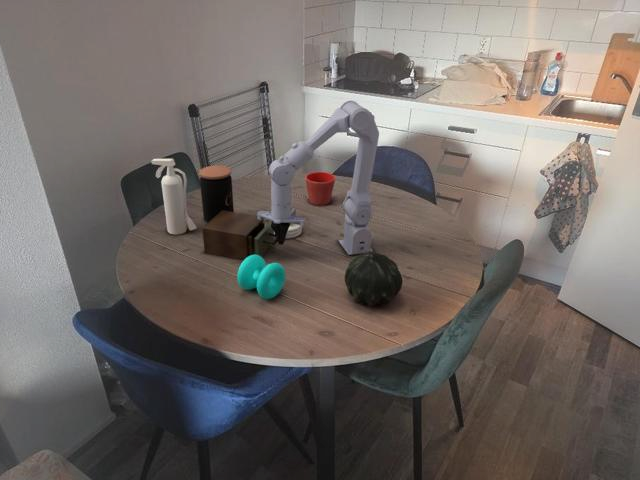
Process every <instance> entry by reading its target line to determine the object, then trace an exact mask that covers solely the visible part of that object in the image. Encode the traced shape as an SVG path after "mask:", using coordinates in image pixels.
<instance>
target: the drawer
mask: <svg viewBox="0 0 640 480" xmlns="http://www.w3.org/2000/svg"><path fill="white" fill-rule="evenodd" d="M271 223H272V220H269V221H268V223H267V224H266V222H265V221H264V222H261V223H260V224H259V225H258V226H257V227H256V228H255V229H254V230H253V231H252V232H251V233H250V235H249V236H248V237H247V241H248V255H259V256H261V257H262V256H263V255H264V253H265V252H266V251H267V250H268V249H269V248H270V246H272V247H275V246H276V245H277V244H278V240H277V237H276V235H275V234H274V231H273V229H272V228H271Z"/></svg>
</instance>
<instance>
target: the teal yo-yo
mask: <svg viewBox="0 0 640 480" xmlns="http://www.w3.org/2000/svg"><path fill="white" fill-rule="evenodd" d="M236 277H237V282H238V285H239V286H240V288H241V289H243V290H246V291H251V290H254V289H256V291H257V294H258V295H259V297H261V298H262V299H265V300H270V299H273V298H275V297H277V296H278V294H280V292H281V290H282V289H283V287H284V285H285V283H286V271H285V268H284V267H283V265H282V264H280V263H278V262H272V263H268V264H266V261H265V259H264V258H263V257H262V256H259V255H255V254H253V255H250V256H248V257H247V258H246V259H245V260H242V262H241V264H240V265H239V268H238V270H237V276H236Z"/></svg>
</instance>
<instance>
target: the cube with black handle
mask: <svg viewBox="0 0 640 480" xmlns="http://www.w3.org/2000/svg"><path fill="white" fill-rule="evenodd" d="M291 214H294V215H297V208H296V207H291ZM292 225H293V224H291V225H290V226H292Z"/></svg>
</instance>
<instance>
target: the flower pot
mask: <svg viewBox="0 0 640 480" xmlns="http://www.w3.org/2000/svg"><path fill="white" fill-rule="evenodd" d="M335 182H336V176H335V175H334V174H332V173H330V172H327V171H313V172H310V173H308V174H306V175H305V184H306V189H307V195H308V201H309V203H310V204H312V205H315V206H325V205H328V204H329V203H330V202H331V199H332V195H333V192H334V191H333V190H334V188H335V187H334V186H335Z"/></svg>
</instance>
